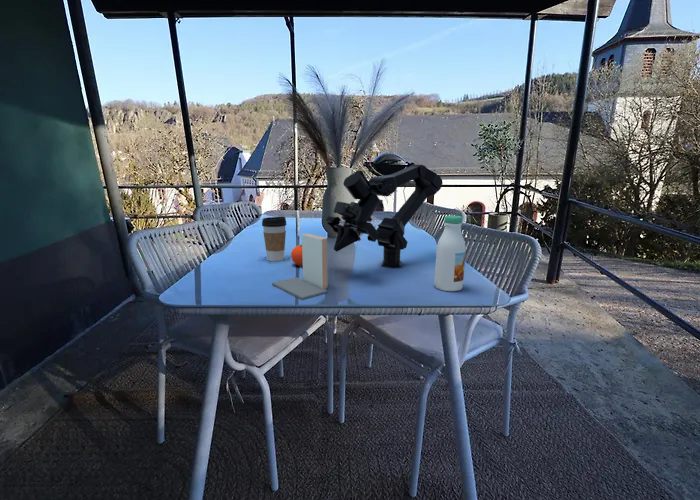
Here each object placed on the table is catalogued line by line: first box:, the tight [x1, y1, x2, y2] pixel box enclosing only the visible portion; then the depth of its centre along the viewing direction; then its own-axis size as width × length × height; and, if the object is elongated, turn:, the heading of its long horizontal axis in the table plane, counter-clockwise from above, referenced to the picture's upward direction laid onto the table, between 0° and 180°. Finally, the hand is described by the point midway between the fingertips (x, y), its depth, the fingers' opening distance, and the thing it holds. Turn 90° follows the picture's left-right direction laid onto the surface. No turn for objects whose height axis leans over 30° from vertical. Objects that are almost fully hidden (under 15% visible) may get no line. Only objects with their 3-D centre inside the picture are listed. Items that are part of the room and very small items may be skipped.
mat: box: [271, 277, 328, 301], centre depth 99 cm, size 8×15×1 cm, turn 41°
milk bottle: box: [433, 215, 467, 292], centre depth 99 cm, size 8×8×20 cm
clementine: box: [290, 244, 303, 267], centre depth 121 cm, size 8×7×7 cm
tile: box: [301, 232, 328, 290], centre depth 101 cm, size 2×9×14 cm, turn 41°
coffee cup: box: [261, 216, 287, 262], centre depth 127 cm, size 8×8×15 cm
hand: (335, 250), depth 105 cm, fingers closed
